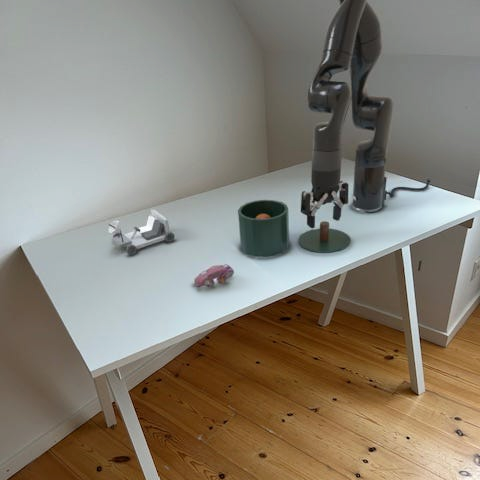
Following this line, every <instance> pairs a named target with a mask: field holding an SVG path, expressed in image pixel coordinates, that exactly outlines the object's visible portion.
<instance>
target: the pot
mask: <svg viewBox="0 0 480 480" xmlns="http://www.w3.org/2000/svg"><path fill="white" fill-rule="evenodd" d="M259 214H267V215H269V216H270V217H271V218H266V219H255V218H256V217H257V216H258V215H259ZM289 216H290V215H289V207H288V205H287V204H286V203H285V202H282V201H279V200H274V199H258V200H253V201H249V202H246V203H244V204H243V205H240V207H239V208H238V209H237V217H238V229H239V243H240V249H241V251H242V252H243V253H244V254H246V255H249V256H252V257H256V258H257V257H258V258H259V257H260V258H266V257H274V256H278V255H280V254H282V253H284V252H285V251H287V250H288V248H289V246H290V229H289V228H290V225H289V223H290V222H289V219H290V217H289Z"/></svg>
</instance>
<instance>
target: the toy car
mask: <svg viewBox="0 0 480 480" xmlns="http://www.w3.org/2000/svg"><path fill="white" fill-rule="evenodd" d="M121 227H122V226H121V224H120V221H119V220H113V221H111V223H108V233H109V234H113V235H112V237H111V238H110V239H111V242H112V243H113V244H114V245H115V246H116V247H117V248H118V249H122V248H124V247H125V248H126V249H125V251H126V253H127V254H128V255H130V256H134V255H135V254H137V252H138V250H139V249H141V248H145V247H147V246H148V247H149V246H151V245H153V244H157V243H159V242H162V241H166V242H167V243H172V242H173V241H174V240H175V234H174V233H173V232H172V231H171V230H170V225H169V219H168V218H166V216H164V215H163V214H161V213H159V212H158V211H157V210H155V209H154V208H152V209H150V214H149V215H148V218H147V221H146V225H144V226H140V227H136V226H134V227H133V229H134V230H133V231H130V232H127V233H124V234H123V233H122V228H121Z"/></svg>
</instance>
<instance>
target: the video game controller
mask: <svg viewBox="0 0 480 480" xmlns="http://www.w3.org/2000/svg"><path fill="white" fill-rule="evenodd" d="M234 274H235V271H234V269H233V268H232V266H231V265H229V264H228V263H224V264H217V265H212V266H210V267H209V268H208V269H206V270H202V271H201V272H200V273H198V275H197V276H195V277H194V280H193V281H194V286H196V287H197V288H201V287H206V288H208V289H210V288H212V287H214V286H215V284H216V282H217V283H218V284H219V285H220V284H221V285H222V284H224V283H225V282H227V280H228V279H229V278H231V277H232V276H233V275H234ZM215 280H216V282H215Z"/></svg>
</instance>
